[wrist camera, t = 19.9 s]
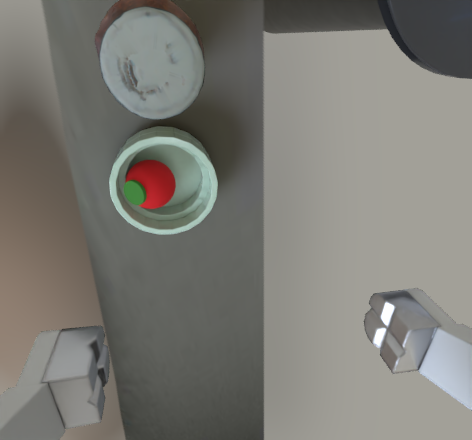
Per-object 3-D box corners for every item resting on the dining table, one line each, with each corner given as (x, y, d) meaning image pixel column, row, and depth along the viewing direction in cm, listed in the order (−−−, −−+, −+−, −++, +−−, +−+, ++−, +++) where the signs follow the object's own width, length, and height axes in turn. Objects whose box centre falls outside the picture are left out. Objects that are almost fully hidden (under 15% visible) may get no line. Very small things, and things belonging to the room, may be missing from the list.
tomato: (169, 146, 32) (135, 160, 29) (193, 189, 33) (163, 208, 30) (139, 164, 35) (105, 179, 31) (162, 203, 36) (131, 222, 32)
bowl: (176, 105, 32) (178, 114, 28) (228, 183, 37) (236, 200, 33) (94, 160, 33) (84, 176, 29) (155, 229, 38) (154, 251, 34)
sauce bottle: (109, 74, 30) (39, 123, 13) (120, -4, 27) (49, -75, 10) (181, 95, 32) (202, 162, 15) (197, 24, 29) (245, 5, 12)
